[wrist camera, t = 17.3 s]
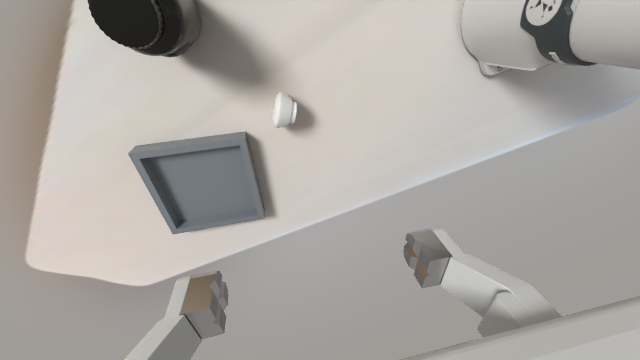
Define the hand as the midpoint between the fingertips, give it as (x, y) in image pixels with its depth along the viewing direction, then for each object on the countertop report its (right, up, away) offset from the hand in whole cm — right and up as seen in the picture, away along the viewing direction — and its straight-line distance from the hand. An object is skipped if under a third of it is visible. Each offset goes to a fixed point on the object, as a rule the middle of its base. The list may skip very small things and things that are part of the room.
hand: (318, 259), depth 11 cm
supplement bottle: (-18, +23, +19) cm, 35 cm away
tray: (-19, +3, +31) cm, 37 cm away
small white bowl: (-6, +15, +27) cm, 32 cm away
